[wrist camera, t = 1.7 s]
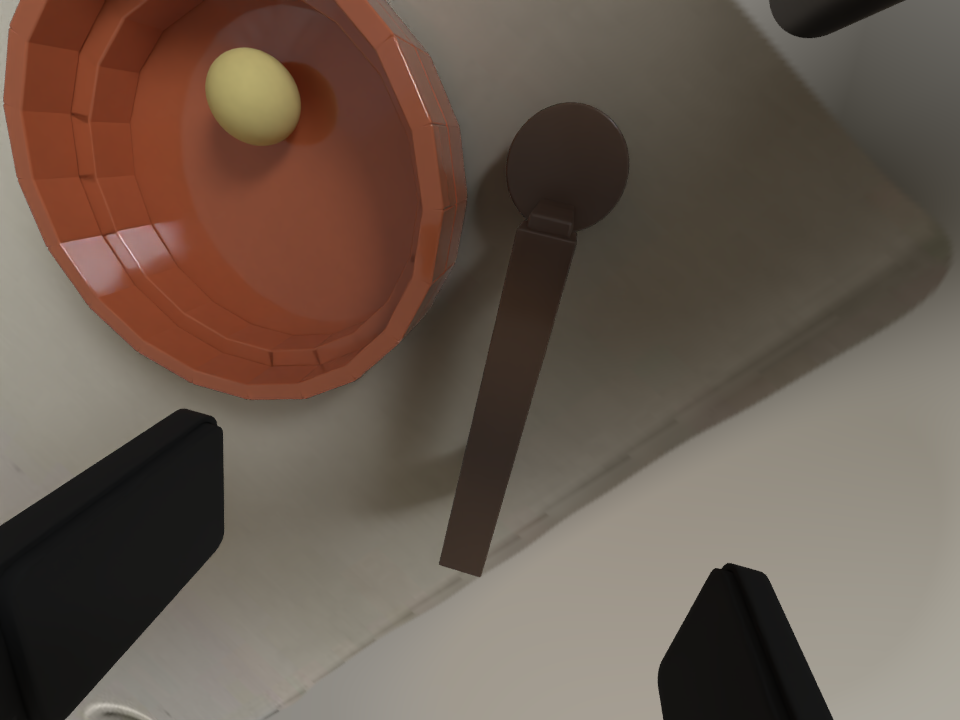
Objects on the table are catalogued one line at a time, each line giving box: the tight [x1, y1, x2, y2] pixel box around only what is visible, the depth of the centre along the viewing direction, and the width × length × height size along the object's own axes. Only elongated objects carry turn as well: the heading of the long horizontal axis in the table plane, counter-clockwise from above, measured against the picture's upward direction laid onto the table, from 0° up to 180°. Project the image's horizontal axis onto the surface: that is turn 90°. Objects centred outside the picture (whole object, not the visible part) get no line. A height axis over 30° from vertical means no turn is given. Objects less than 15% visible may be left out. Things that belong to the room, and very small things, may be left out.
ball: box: [205, 48, 301, 146], centre depth 17 cm, size 3×3×3 cm
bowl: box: [3, 0, 467, 400], centre depth 18 cm, size 15×15×4 cm
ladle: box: [439, 103, 629, 577], centre depth 18 cm, size 16×4×6 cm, turn 168°
